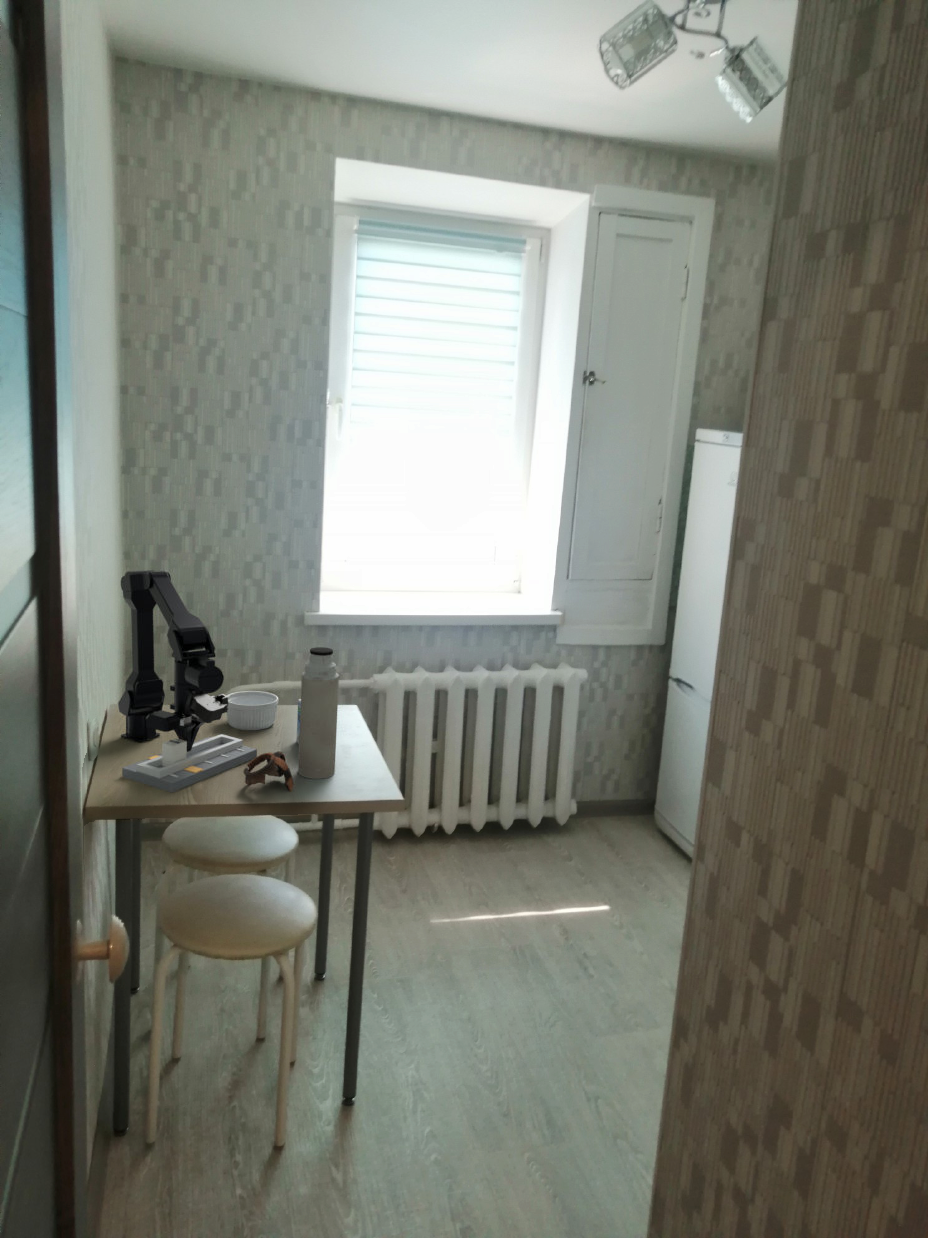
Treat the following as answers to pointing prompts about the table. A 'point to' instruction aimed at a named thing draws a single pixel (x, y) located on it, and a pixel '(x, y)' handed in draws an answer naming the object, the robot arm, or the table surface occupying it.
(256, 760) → the brown curved looped piece
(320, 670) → the thermos bottle
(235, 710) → the ramekin
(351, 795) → the table surface
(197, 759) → the console
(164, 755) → the fader knob
